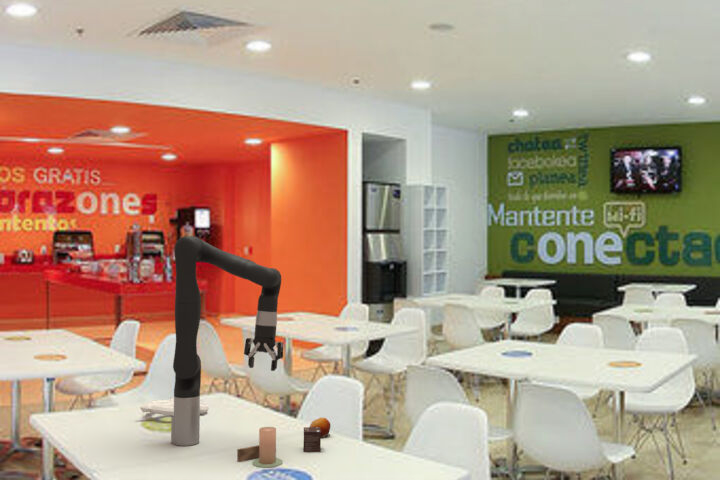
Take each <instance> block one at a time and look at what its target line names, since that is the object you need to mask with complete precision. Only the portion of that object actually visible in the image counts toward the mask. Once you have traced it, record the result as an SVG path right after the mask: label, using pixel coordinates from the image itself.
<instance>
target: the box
mask: <svg viewBox="0 0 720 480" xmlns="http://www.w3.org/2000/svg"><path fill="white" fill-rule="evenodd" d="M321 439H322V437H321V429H320V427H310V426H307V427H306V426H304V427H303V452H304V453H320V452H321V443H322V442H321V441H322V440H321Z"/></svg>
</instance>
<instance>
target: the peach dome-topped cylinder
mask: <svg viewBox="0 0 720 480" xmlns="http://www.w3.org/2000/svg"><path fill="white" fill-rule="evenodd" d="M258 431H259V433H258V436H259V437H258V439H259V440H258V442H259V443H258V445H259V458H258V459H259V463H261V464H273V463H275V462H276V458H277V427H274V426H263V427H260V428H259V430H258Z"/></svg>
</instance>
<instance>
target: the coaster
mask: <svg viewBox="0 0 720 480" xmlns="http://www.w3.org/2000/svg"><path fill="white" fill-rule="evenodd" d="M251 463H252V464H251V465H253V467H257V468H263V469H264V468H267V469H268V468H276V467H279V466H282V465H283V460H282V459H280V458H277V457H276V462H275V463H273V464H261V463H259V458H256V459H253V460H252V462H251Z"/></svg>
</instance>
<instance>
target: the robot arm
mask: <svg viewBox="0 0 720 480" xmlns="http://www.w3.org/2000/svg"><path fill="white" fill-rule="evenodd" d="M173 251H174V252H173V253H174V261H175V262H174V264H175V274H176V275H175V296H174V297H175V298H174V328H175V329H174V331H175V349H174V355H173V356H174V357H173V363H172V368H173V369H172V370H173V373H174V375H175V376H174V377H175V380H174V388H173V398H174V416H171V418H170V419H171V421H170V422H171V424H170V425H171V427H170V428H171V429H170V437H171V438H170V441H171V442H170V443H171V444H173V445H175V446H180V447H181V446H182V447H184V446H186V447H187V446H194V445H197V444H199V443H200V428H201V427H200V426H201V425H200V424H201V422H200V421H201V419H200V417H201V416H200V415H201V414H200V403H201V402H200V401H201V397H200V396H201V384H202V383H201V382H202V381H201V380H202V361H201V358H200V356H199V354H198V350H197V348H198V347H197V339H198V333H199V330H200V329H199V328H200V322H201V316H202V315H201V312H202V311H201V310H202V297H201V292H200V288H199V287H200V286H199V284H198V280H197V262H201V263H206V264H209V265H212V266H215V267H216V268H219V269H220V270H222V271H225V272H227V273H228V274H230V275H232V276H236V277H238V278H240V279H244V280H247V281H249V282H252V283H253V284H255V285H258V286H261V292H260V295H259V297H258V298H257V299H258V301H257V311H256V316H255V326H254V327H255V328H254V338H252V337H248V338H245V343H244V351H243V355H245V356H248V361H247V362H248V364H247V366H248V367H249V368H250V369H252V368H255V367H254V366H255V356H256V354H257V353H266V354H267V353H268V356H270V357H271V359H272V360H271V365H270V371H272V372H274V371H276V369H277V368H278V360H281V359H283V358H284V342H283V341H276V335H277V325H278V304H279V303H278V300H279V295H280V291H281V287H282V286H281V285H282V275H281V272H280V271H279V269H277V268H274V267H271V268H270V267H267V266H263V265H261V264H258V263H256V262H255V261H253V260H250V259H248V258H246V257H242V256H239V255H236V254H235V253H234V254H233V253H230V252H227V251H224V250H222V249H219V248H218V247H216V246H213V245H211V244H209V243H208V242H206V241H204V240H202V239H201V238H199V237H198V236H196V235H195V236H194V235H185V236H181V237H180V238H178V240H176V243H175V244H174V250H173ZM253 344H254V347H253V348H252V349H251V347H252V345H253ZM275 348H276V349H277V350H275ZM276 351H277V352H276Z"/></svg>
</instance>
